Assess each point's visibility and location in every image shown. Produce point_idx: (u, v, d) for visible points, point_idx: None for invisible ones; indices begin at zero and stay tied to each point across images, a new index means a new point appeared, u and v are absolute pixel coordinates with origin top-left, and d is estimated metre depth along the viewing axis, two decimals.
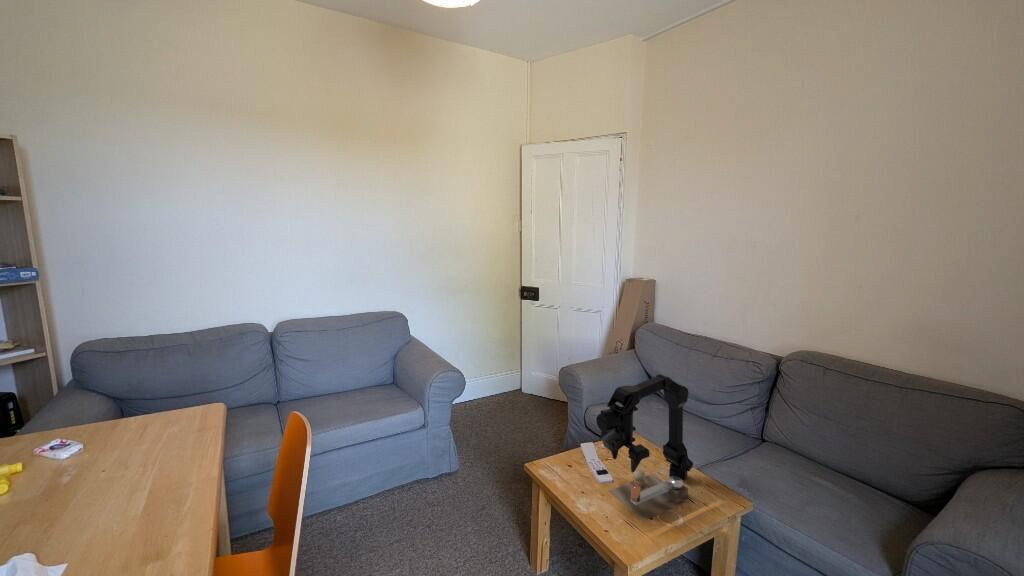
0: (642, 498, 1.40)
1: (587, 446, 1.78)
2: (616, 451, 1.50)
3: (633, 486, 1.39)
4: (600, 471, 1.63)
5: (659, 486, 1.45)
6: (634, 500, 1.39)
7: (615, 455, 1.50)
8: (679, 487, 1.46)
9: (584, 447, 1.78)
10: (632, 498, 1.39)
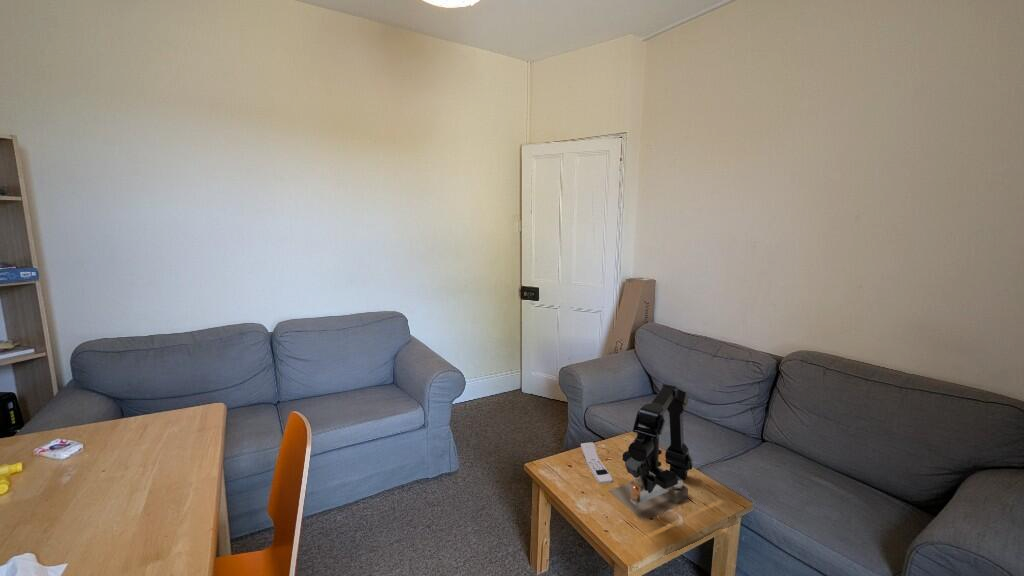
0: (642, 498, 1.40)
1: (587, 446, 1.78)
2: None
3: (633, 486, 1.39)
4: (600, 471, 1.63)
5: (659, 486, 1.45)
6: (634, 500, 1.39)
7: (647, 486, 1.35)
8: (679, 487, 1.46)
9: (584, 447, 1.78)
10: (632, 498, 1.39)
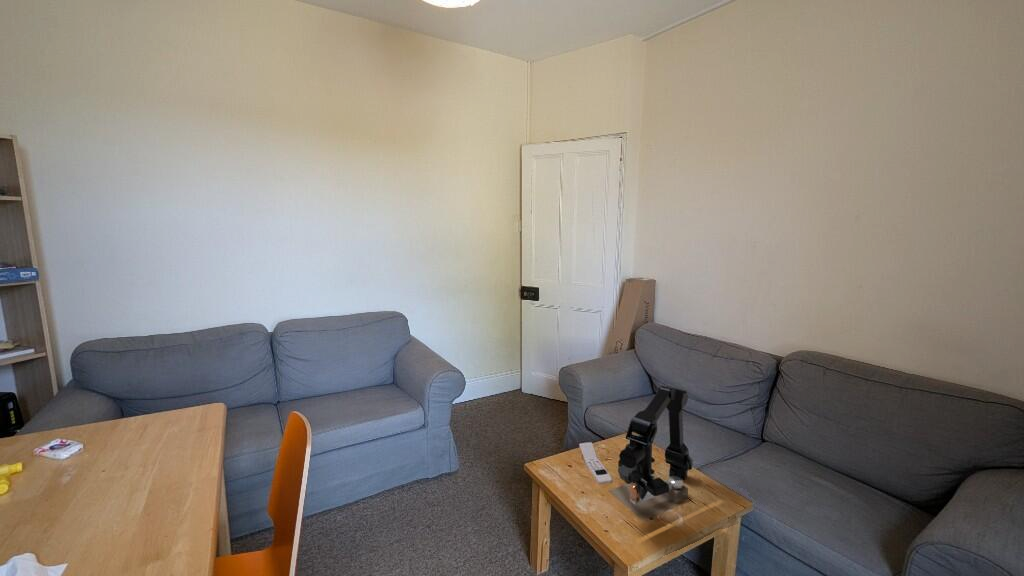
0: None
1: (586, 446, 1.78)
2: None
3: (632, 486, 1.39)
4: (599, 471, 1.63)
5: None
6: (633, 500, 1.39)
7: None
8: (679, 487, 1.46)
9: (583, 447, 1.78)
10: (631, 498, 1.39)
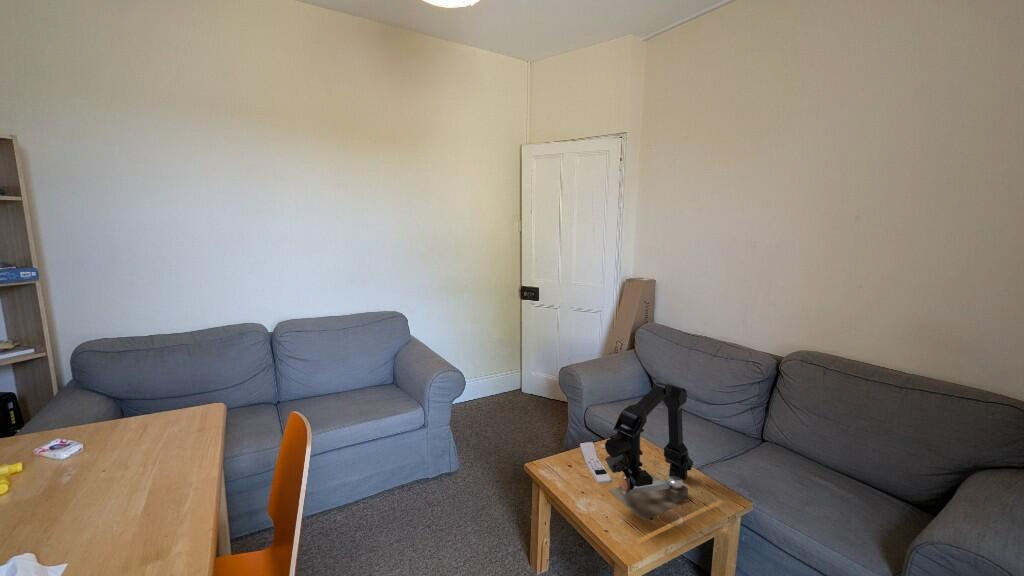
0: (633, 490, 1.44)
1: (587, 446, 1.78)
2: None
3: (623, 476, 1.44)
4: (598, 471, 1.63)
5: (655, 482, 1.47)
6: (623, 490, 1.44)
7: None
8: (677, 487, 1.46)
9: (583, 447, 1.78)
10: (622, 488, 1.45)
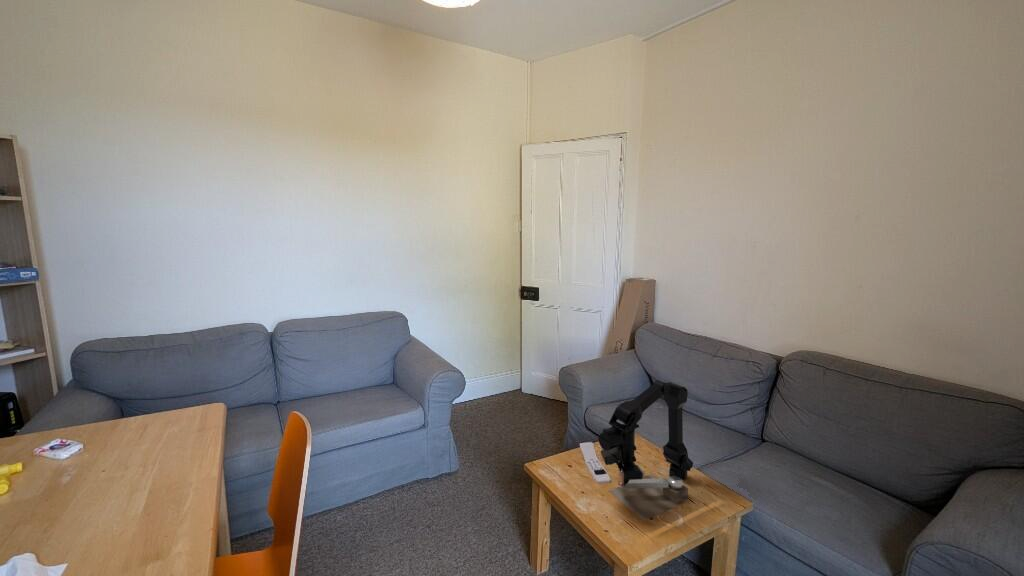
0: (629, 484, 1.47)
1: (586, 446, 1.78)
2: None
3: None
4: (598, 471, 1.63)
5: (653, 480, 1.49)
6: (619, 483, 1.48)
7: (625, 480, 1.45)
8: (676, 487, 1.46)
9: (583, 447, 1.78)
10: (618, 481, 1.48)
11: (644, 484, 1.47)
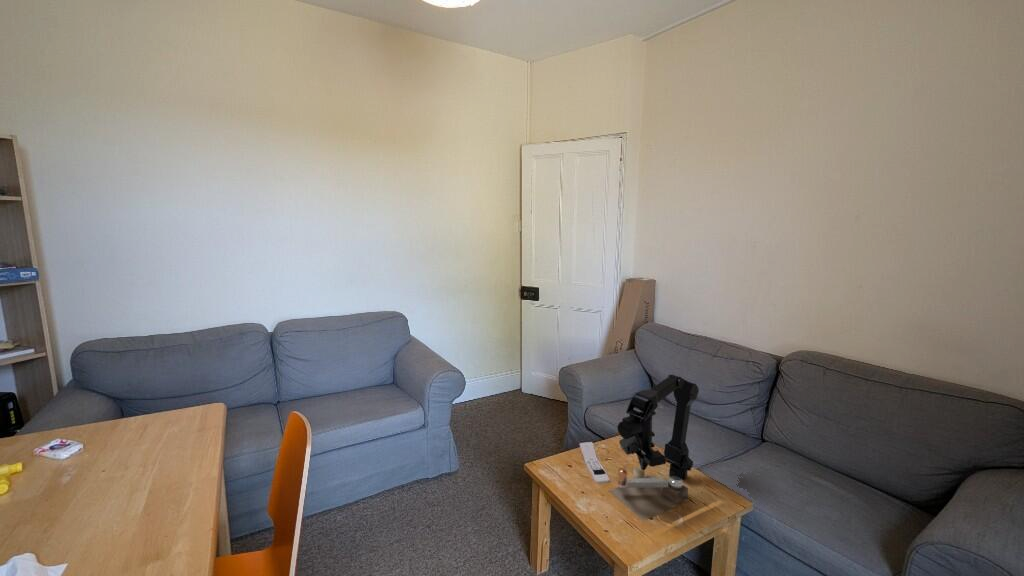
0: (628, 483, 1.48)
1: (586, 446, 1.78)
2: None
3: (619, 470, 1.48)
4: (597, 471, 1.63)
5: (653, 479, 1.49)
6: (619, 483, 1.48)
7: None
8: (675, 487, 1.46)
9: (583, 447, 1.78)
10: (618, 480, 1.49)
11: (644, 483, 1.48)
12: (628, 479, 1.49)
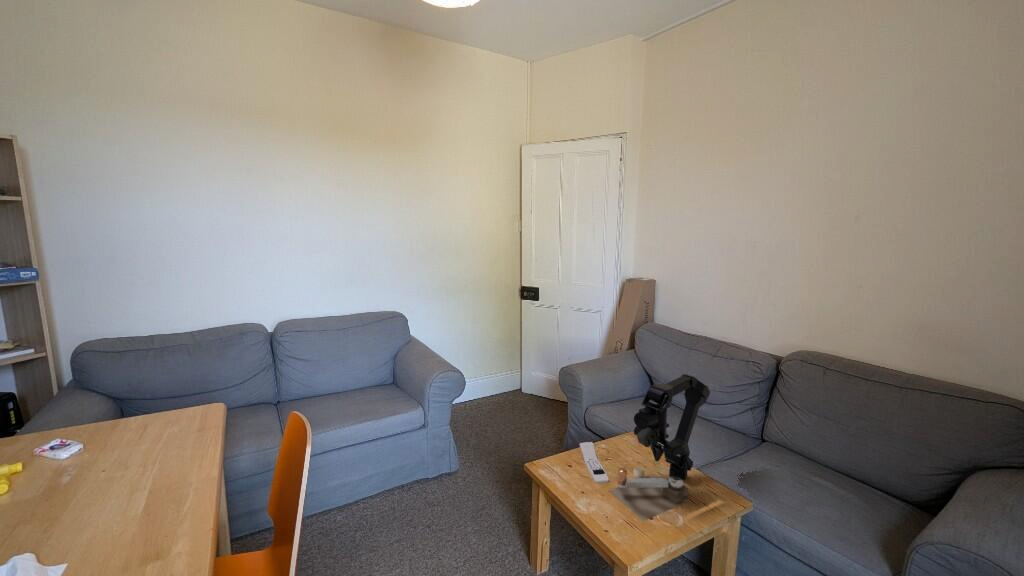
0: (628, 483, 1.48)
1: (586, 446, 1.78)
2: None
3: (619, 470, 1.48)
4: (597, 471, 1.63)
5: (653, 479, 1.49)
6: (619, 483, 1.48)
7: None
8: (675, 487, 1.46)
9: (583, 446, 1.78)
10: (618, 480, 1.49)
11: (644, 483, 1.48)
12: (628, 479, 1.49)
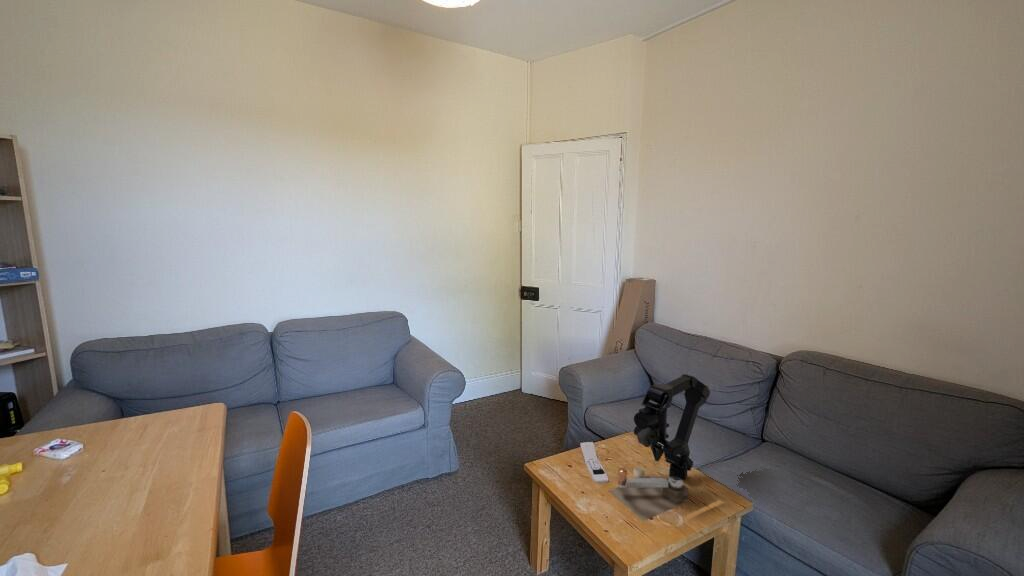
0: (628, 483, 1.48)
1: (587, 445, 1.78)
2: None
3: (619, 470, 1.48)
4: (596, 471, 1.63)
5: (653, 479, 1.49)
6: (619, 483, 1.48)
7: None
8: (675, 487, 1.46)
9: (584, 446, 1.78)
10: (618, 480, 1.49)
11: (644, 483, 1.48)
12: (628, 479, 1.49)
